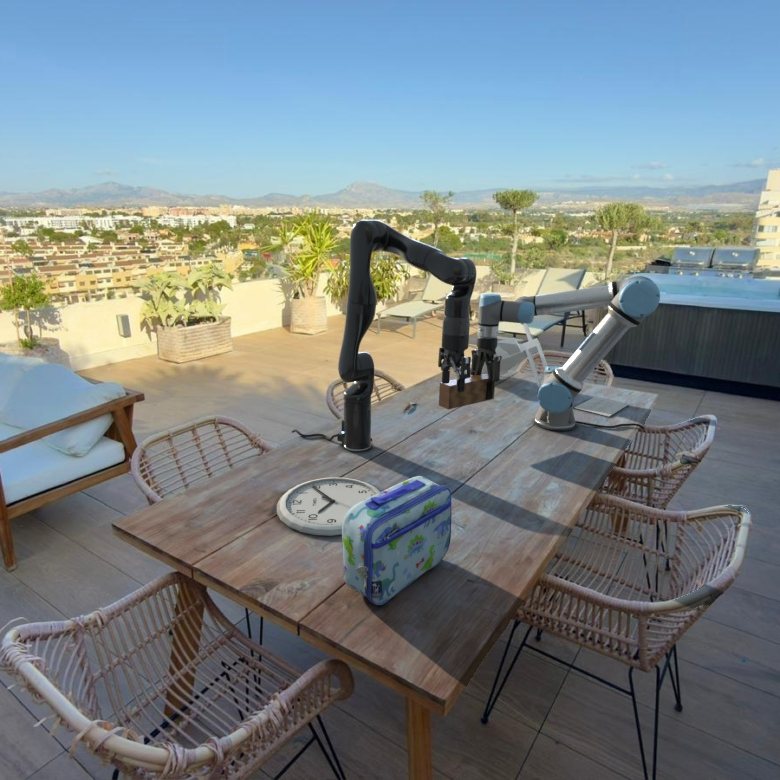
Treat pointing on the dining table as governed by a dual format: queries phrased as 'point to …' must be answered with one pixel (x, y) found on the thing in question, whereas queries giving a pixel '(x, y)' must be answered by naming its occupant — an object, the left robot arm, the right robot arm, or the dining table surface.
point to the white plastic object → (518, 354)
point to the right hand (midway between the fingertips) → (483, 396)
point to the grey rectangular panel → (601, 406)
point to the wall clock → (322, 504)
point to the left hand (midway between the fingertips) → (452, 387)
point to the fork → (411, 403)
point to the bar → (464, 392)
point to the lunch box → (395, 537)
